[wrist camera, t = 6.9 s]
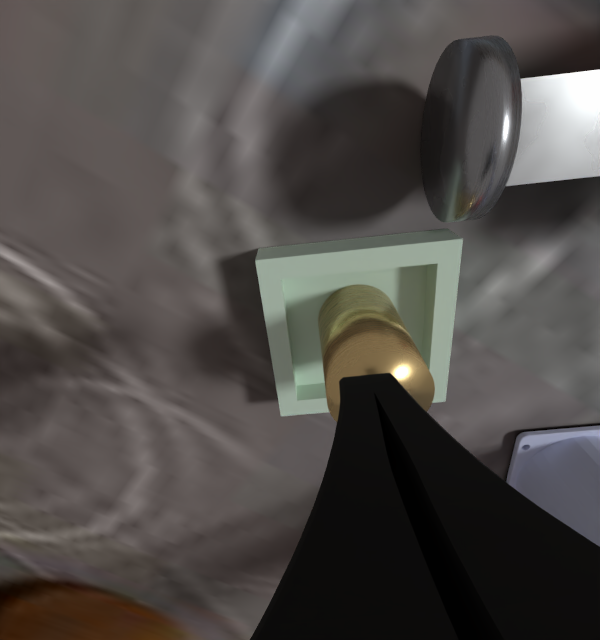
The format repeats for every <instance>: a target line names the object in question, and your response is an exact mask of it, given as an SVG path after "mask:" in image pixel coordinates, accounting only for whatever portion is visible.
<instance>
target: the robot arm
mask: <svg viewBox="0 0 600 640" xmlns="http://www.w3.org/2000/svg"><path fill="white" fill-rule="evenodd" d="M339 389H340V407H339V415H338V421H337V426H336V432H335V437H334V441H333V445H332V449H331V453H330V457H329V460H328V464H327V468H326V471H325V474H324V477H323V481H322V484H321V487H320V490H319V492H318V495H317V498H316V501H315V504H314V506H313V509H312V511H311V514H310V516H309V519H308V521H307V524H306V526H305V529H304V531H303V534H302V536H301V538H300V541H299V543H298V545H297V548H296V550H295V552H294V554H293V557H292V559H291V561H290V563H289V565H288V567H287V569H286V571H285V573H284V575H283V577H282V579H281V581H280V583H279V585H278V587H277V589H276V591H275V593H274V596H273V598H272V600H271V602H270V604H269V606H268V608H267V609H266V611H265V613H264V615H263V617H262V619H261V621H260V623H259V624H258V626H257V628H256V630H255V632H254V633H253V635H252V637H251V639H250V640H600V425H599V426H587V427H576V428H564V429H553V430H541V431H530V432H522V433H520V434H519V435H518V436H517V438H516V442H515V446H514V450H513V455H512V459H511V463H510V467H509V471H508V475H507V480H506V482H505V481H504V480H503V479H501V478H500V477H499V476H498V475H496V474H495V473H494V472H493V471H491V470H490V469H489V468H488V467H486V466H485V465H484V464H483V463H482V462H480V461H479V460H478V459H477V458H476V457H474V456H473V455H472V454H471V453H470V452H469V451H468V450H466V449H465V448H464V447H463V446H462V445H461V444H460V443H458V442H457V441H456V440H455V439H454V438H453V437H452V436H451V435H450V434H449V433H448V432H447V431H446V430H445V429H443V428H442V427H441V426H440V425H439V424H438V423H437V422H436V421H435V420H434V419H433V418H432V417H431V416H430V415H429V414H428V413H427V412H426V411H425V410H424V409H423V408H422V407H421V406H420V405H419V404H418V403H417V401H416V400H415V399H414V398H413V397H412V396H411V395H410V394H409V393H408V392H407V391H406V390H405V388H404V387H403V386H402V385H401V384H400V383H399V382H398V380H397V379H396V378H395V377H394V376H393V375H392V374H391V373H381V374H371V375H361V376H351V377H343V378H342V379H341V380H340V381H339Z"/></svg>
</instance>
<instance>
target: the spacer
mask: <svg viewBox="0 0 600 640" xmlns="http://www.w3.org/2000/svg"><path fill="white" fill-rule="evenodd" d="M318 327H319V336H320V345H321V354H322V363H323V372H324V381H325V389H326V398H327V406H328V409H329V412H330V414H331V415H332V417H333V418H334V420H335V421H336V422H337V421H338V415H339V407H340V389H339V381H340V380H341V379H342V378H343V377H351V376H361V375H371V374H381V373H391V374H392V375H393V376H394V377H395V378H396V379H397V380H398V382H399V383H400V384H401V385H402V386H403V387H404V388H405V390H406V391H407V392H408V393H409V394H410V395H411V396H412V397H413V398H414V399H415V400H416V401H417V403H418V404H419V405H420V406H421V407H422V408H423V409H424V410H425V411H426V412H427V411H428V409H429V408H430V406H431V404H432V401H433V398H434V394H435V384H434V380H433V377H432V375H431V373H430V371H429V369H428V367H427V365H426V364H425V362H424V360H423V358H422V356H421V354H420V353H419V351H418V349H417V347H416V345H415V343H414V342H413V340H412V338H411V336H410V334H409V332H408V330H407V329H406V327H405V325H404V323H403V321H402V319H401V318H400V316H399V314H398V312H397V310H396V308H395V306H394V305H393V303H392V301H391V300H390V298H389V297H388V296H387V295H386V294H385V293H384V292H383V291H381V290H380V289H378V288H375V287H373V286H369V285H360V284H357V285H350V286H347V287H344V288H341V289H339V290H337V291H336V292H334V293H333V294H332V295H330V296H329V297H328V298H327V300H326V301H325V302H324V304H323V305H322V307H321V309H320V312H319V316H318Z"/></svg>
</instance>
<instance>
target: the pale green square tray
mask: <svg viewBox="0 0 600 640" xmlns="http://www.w3.org/2000/svg"><path fill="white" fill-rule="evenodd" d="M462 244H463V238H461V237H460V236H458V235H456V234H455V233H453V232H452V231H450V230H449V229H439V230H429V231H419V232H410V233H400V234H391V235H381V236H372V237H362V238H353V239H343V240H334V241H324V242H315V243H305V244H296V245H286V246H277V247H267V248H259V249H258V252H257V256H256V259H255V263H256V269H257V275H258V281H259V287H260V293H261V299H262V305H263V311H264V317H265V323H266V329H267V335H268V341H269V347H270V353H271V359H272V365H273V371H274V377H275V383H276V389H277V395H278V401H279V407H280V413H281V416H291V415H302V414H313V413H324V412H329V409H328V406H327V398H326V389H325V381H324V372H323V363H322V354H321V345H320V336H319V327H318V316H319V312H320V309H321V307H322V305H323V304H324V302H325V301H326V300H327V298H328V297H329V296H330V295H332V294H333V293H334V292H336V291H337V290H339V289H341V288H344V287H347V286H350V285H357V284H360V285H369V286H373V287H375V288H378V289H380V290H381V291H383V292H384V293H385V294H386V295H387V296H388V297H389V298H390V300H391V301H392V303H393V305H394V306H395V308H396V310H397V312H398V314H399V316H400V318H401V319H402V321H403V323H404V325H405V327H406V329H407V330H408V332H409V334H410V336H411V338H412V340H413V342H414V343H415V345H416V347H417V349H418V351H419V353H420V354H421V356H422V358H423V360H424V362H425V364H426V365H427V367H428V369H429V371H430V373H431V375H432V377H433V380H434V384H435V394H434V398H433V401H432V403H435V402H445V401H446V391H447V382H448V373H449V364H450V354H451V345H452V336H453V327H454V318H455V308H456V299H457V290H458V281H459V271H460V262H461V253H462Z"/></svg>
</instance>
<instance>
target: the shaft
mask: <svg viewBox="0 0 600 640" xmlns="http://www.w3.org/2000/svg"><path fill="white" fill-rule="evenodd" d="M421 167H422V177H423V184H424V189H425V194H426V198H427V201H428V204H429V206H430V208H431V210H432V212H433V214H434V215H435V216H436V218H438V219H439V220H440V221H442V222H455V221H465V220H474V219H478V218H481V217H483V216H485V215H486V214H487V213H488V212H489V211H490V210H491V209H492V208H493V207H494V206H495V204H496V203H497V201H498V200H499V198H500V196H501V194H502V192H503V191H504V189H505V186H512V185H521V184H531V183H540V182H549V181H558V180H568V179H577V178H586V177H595V176H600V70H591V71H583V72H574V73H566V74H557V75H549V76H540V77H532V78H523V79H520V74H519V68H518V65H517V61H516V58H515V55H514V53H513V51H512V49H511V47H510V46H509V44H508V43H507V42H506V41H505V40H504V39H503V38H501V37H499V36H492V35H491V36H483V37H475V38H467V39H458V40H455V41H453V42H452V43H450V44H449V45H448V46H447V48H446V49H445V50H444V52H443V53H442V55H441V56H440V58H439V60H438V62H437V64H436V67H435V69H434V72H433V75H432V78H431V81H430V85H429V88H428V92H427V97H426V102H425V107H424V114H423V122H422V133H421Z"/></svg>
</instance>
